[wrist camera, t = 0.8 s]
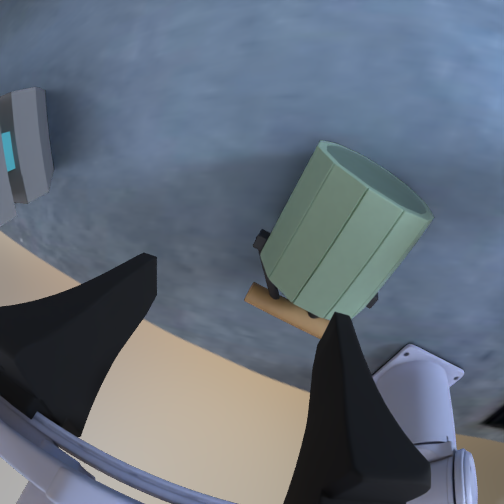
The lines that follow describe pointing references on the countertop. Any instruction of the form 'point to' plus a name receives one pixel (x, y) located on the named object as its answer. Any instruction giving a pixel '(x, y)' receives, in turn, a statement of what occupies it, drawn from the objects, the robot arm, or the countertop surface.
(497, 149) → the countertop surface
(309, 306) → the bucket
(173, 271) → the countertop surface
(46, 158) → the grey box
